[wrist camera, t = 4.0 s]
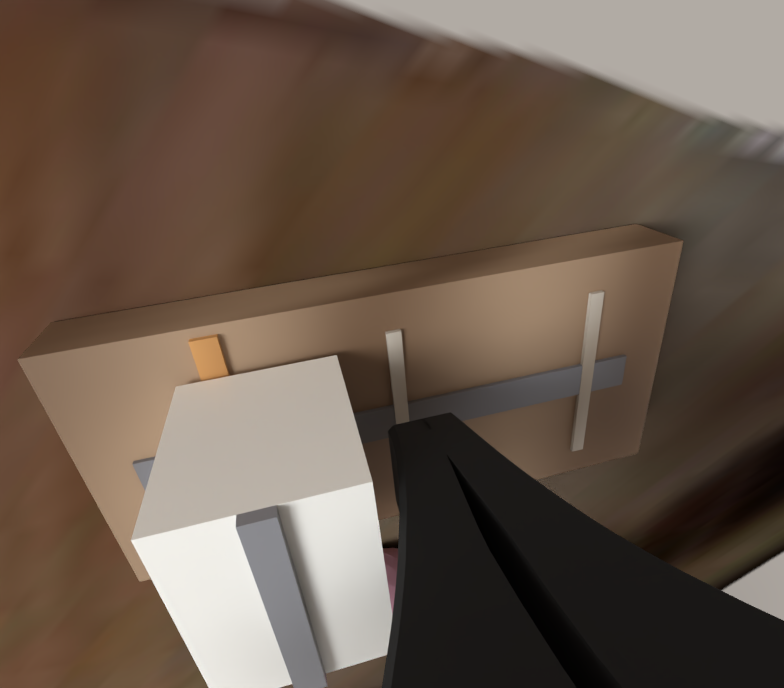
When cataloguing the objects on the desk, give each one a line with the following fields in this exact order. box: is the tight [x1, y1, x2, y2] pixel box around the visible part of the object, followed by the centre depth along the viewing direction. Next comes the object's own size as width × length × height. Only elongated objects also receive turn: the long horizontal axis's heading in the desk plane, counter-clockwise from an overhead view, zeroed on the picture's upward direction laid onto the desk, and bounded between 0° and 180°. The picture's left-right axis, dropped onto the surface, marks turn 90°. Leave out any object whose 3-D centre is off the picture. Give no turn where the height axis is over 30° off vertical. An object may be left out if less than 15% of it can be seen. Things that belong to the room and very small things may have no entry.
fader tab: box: [131, 355, 392, 688], centre depth 8 cm, size 3×4×4 cm
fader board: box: [17, 224, 683, 581], centre depth 11 cm, size 13×6×2 cm, turn 95°
